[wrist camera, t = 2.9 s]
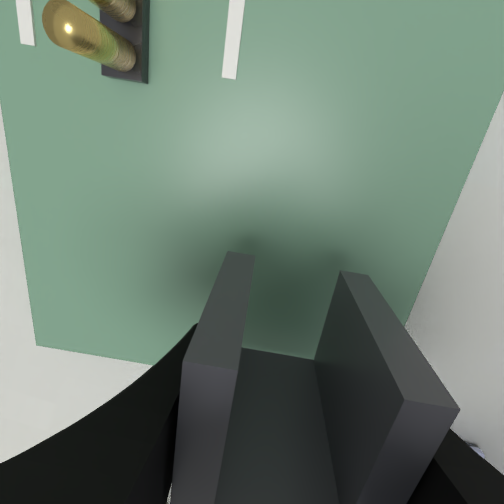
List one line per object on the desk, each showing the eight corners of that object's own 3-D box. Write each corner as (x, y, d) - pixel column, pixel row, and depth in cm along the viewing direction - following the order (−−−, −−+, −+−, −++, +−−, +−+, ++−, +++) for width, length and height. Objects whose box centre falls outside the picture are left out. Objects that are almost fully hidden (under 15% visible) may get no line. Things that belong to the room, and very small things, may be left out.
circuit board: (365, 384, 17) (372, 404, 16) (52, 331, 17) (34, 346, 16) (555, -93, 9) (597, -127, 8) (-11, -187, 9) (-52, -235, 8)
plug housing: (323, 409, 13) (356, 591, 8) (208, 389, 13) (165, 557, 8) (368, 274, 10) (460, 409, 5) (227, 251, 10) (182, 360, 5)
